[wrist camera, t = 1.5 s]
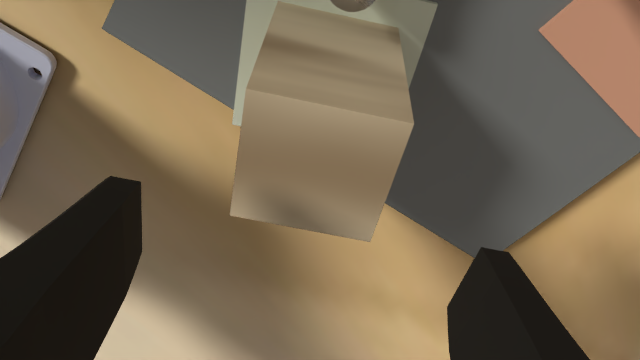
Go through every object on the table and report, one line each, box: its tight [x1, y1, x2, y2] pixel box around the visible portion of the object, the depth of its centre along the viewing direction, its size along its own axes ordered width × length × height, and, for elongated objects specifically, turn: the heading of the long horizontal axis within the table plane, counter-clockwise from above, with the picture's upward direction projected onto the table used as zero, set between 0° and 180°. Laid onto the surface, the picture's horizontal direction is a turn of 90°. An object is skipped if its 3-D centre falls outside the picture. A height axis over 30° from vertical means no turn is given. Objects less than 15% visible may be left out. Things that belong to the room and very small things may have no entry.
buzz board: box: [102, 0, 640, 258], centre depth 17 cm, size 16×18×1 cm
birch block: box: [230, 1, 414, 242], centre depth 15 cm, size 4×4×6 cm
